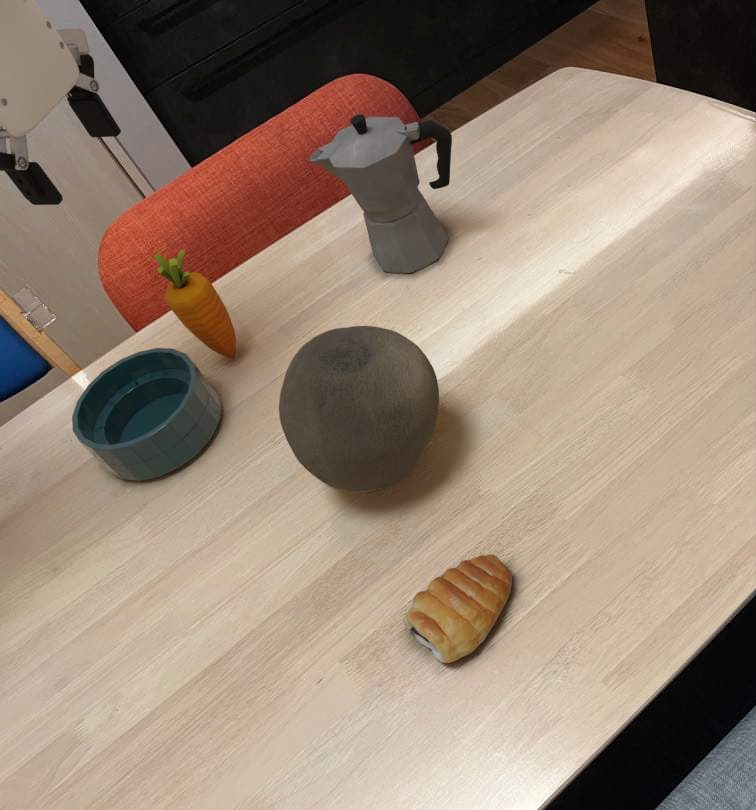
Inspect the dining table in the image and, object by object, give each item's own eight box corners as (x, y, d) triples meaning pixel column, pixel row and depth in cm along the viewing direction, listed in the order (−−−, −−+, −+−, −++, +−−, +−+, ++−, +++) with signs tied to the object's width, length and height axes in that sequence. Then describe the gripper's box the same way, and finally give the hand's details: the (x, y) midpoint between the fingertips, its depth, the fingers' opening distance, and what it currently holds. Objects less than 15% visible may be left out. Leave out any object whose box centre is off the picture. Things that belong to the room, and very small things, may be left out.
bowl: (82, 478, 95) (47, 444, 90) (144, 381, 103) (114, 345, 98) (187, 488, 91) (156, 453, 86) (243, 387, 99) (217, 350, 94)
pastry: (478, 549, 79) (466, 526, 76) (534, 590, 75) (524, 567, 73) (401, 631, 76) (386, 610, 73) (457, 678, 72) (443, 658, 69)
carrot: (208, 351, 104) (137, 253, 92) (249, 333, 104) (183, 233, 93) (215, 379, 100) (142, 281, 89) (257, 360, 101) (190, 260, 90)
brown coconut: (429, 530, 81) (370, 429, 70) (296, 509, 86) (221, 410, 75) (480, 408, 89) (435, 299, 78) (355, 394, 94) (296, 290, 83)
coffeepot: (356, 287, 105) (291, 157, 92) (360, 235, 111) (300, 106, 98) (485, 258, 103) (438, 122, 90) (482, 207, 110) (438, 73, 96)
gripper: (-22, -70, 75) (96, 113, 88) (-169, 43, 65) (-11, 231, 77) (50, -79, 72) (160, 110, 85) (-91, 36, 62) (58, 231, 75)
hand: (78, 167), depth 81 cm, fingers open, 9 cm apart
